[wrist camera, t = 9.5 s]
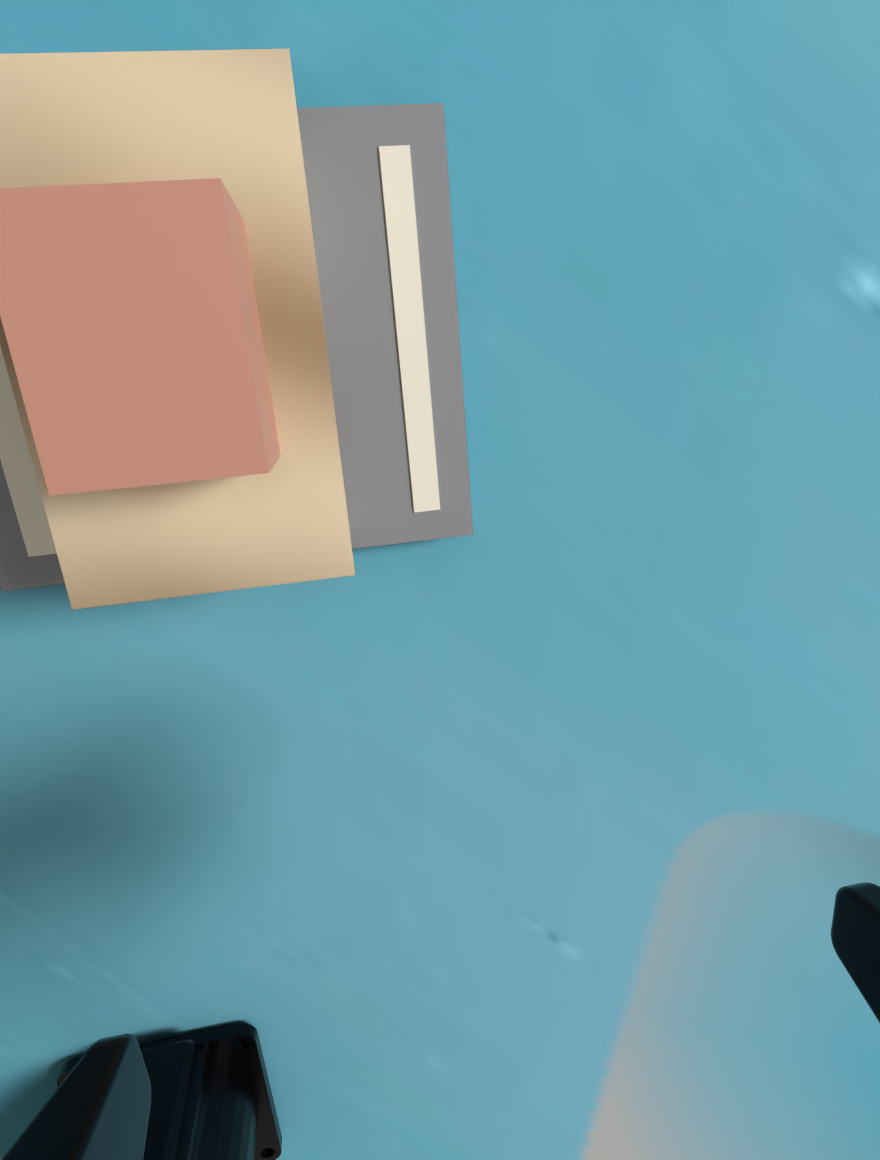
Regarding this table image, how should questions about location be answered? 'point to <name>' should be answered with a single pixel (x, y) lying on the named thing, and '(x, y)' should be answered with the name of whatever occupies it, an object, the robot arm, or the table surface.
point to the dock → (346, 339)
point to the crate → (135, 333)
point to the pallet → (284, 299)
